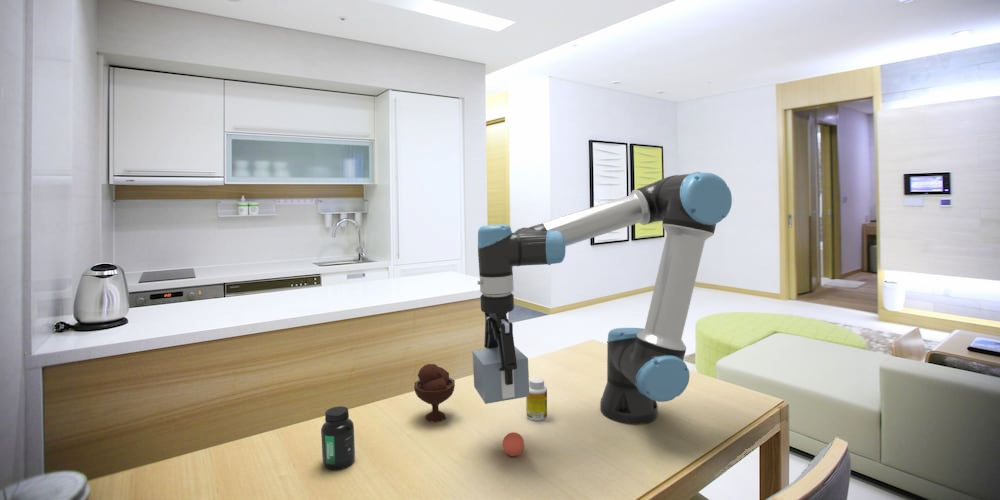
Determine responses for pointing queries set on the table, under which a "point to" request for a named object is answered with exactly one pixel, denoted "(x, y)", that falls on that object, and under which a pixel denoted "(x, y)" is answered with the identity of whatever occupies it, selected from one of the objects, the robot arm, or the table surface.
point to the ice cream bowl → (434, 389)
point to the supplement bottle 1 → (337, 439)
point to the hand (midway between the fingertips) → (500, 388)
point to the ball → (513, 444)
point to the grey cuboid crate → (498, 375)
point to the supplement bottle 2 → (536, 400)
